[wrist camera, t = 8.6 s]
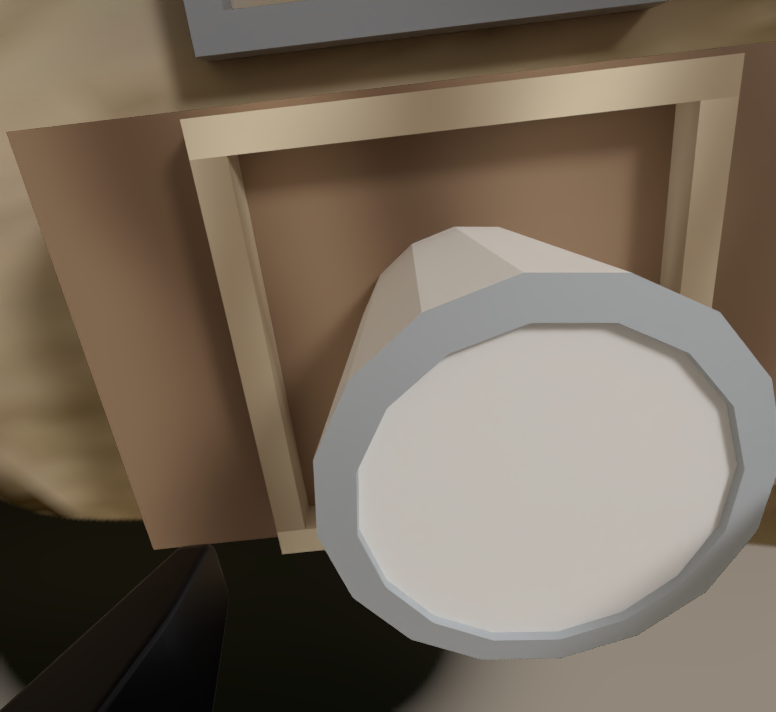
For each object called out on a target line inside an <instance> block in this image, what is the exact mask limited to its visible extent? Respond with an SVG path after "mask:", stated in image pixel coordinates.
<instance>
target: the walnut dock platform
mask: <svg viewBox="0 0 776 712" xmlns="http://www.w3.org/2000/svg"><path fill="white" fill-rule="evenodd" d="M6 133H7V136H8V139H9V141H10V144H11V147H12V150H13V153H14V156H15V158H16V161H17V164H18V167H19V170H20V173H21V176H22V178H23V181H24V184H25V187H26V190H27V193H28V195H29V198H30V201H31V204H32V207H33V210H34V212H35V215H36V218H37V221H38V224H39V227H40V229H41V232H42V235H43V238H44V241H45V244H46V246H47V249H48V252H49V255H50V258H51V261H52V263H53V266H54V269H55V272H56V275H57V278H58V280H59V283H60V286H61V289H62V292H63V295H64V297H65V300H66V303H67V306H68V309H69V312H70V314H71V317H72V320H73V323H74V326H75V329H76V331H77V334H78V337H79V340H80V343H81V346H82V348H83V351H84V354H85V357H86V360H87V363H88V365H89V368H90V371H91V374H92V377H93V380H94V382H95V385H96V388H97V391H98V394H99V397H100V399H101V402H102V405H103V408H104V411H105V414H106V416H107V419H108V422H109V425H110V428H111V431H112V433H113V436H114V439H115V442H116V445H117V448H118V450H119V453H120V456H121V459H122V462H123V465H124V467H125V470H126V473H127V476H128V479H129V482H130V484H131V487H132V490H133V493H134V496H135V499H136V501H137V504H138V507H139V510H140V513H141V516H142V518H143V521H144V524H145V527H146V530H147V533H148V535H149V538H150V541H151V544H152V547H153V550H156V549H165V548H175V547H183V546H188V545H197V544H213V543H223V542H233V541H242V540H252V539H262V538H270V537H278V538H279V542H280V547H281V550H282V554H289V553H299V552H309V551H318V550H325V549H324V547H323V545H322V544H321V542H320V540H319V539H318V537H317V525H316V506H315V488H314V469H313V459H314V456H315V453H316V450H317V448H318V445H319V442H320V439H321V436H322V433H323V430H324V427H325V424H326V421H327V418H328V416H329V413H330V410H331V407H332V404H333V401H334V398H335V395H336V392H337V389H338V386H339V383H340V381H341V378H342V375H343V372H344V369H345V366H346V363H347V360H348V357H349V354H350V351H351V349H352V346H353V343H354V340H355V337H356V334H357V331H358V328H359V325H360V322H361V319H362V316H363V314H364V311H365V309H366V306H367V304H368V302H369V299H370V297H371V295H372V292H373V290H374V288H375V285H376V283H377V281H378V278H379V276H380V274H381V273H382V272H383V271H384V270H385V269H386V268H388V267H389V266H390V265H391V264H392V263H393V262H394V261H395V260H396V259H397V258H398V257H399V256H400V255H401V254H402V253H403V252H404V251H405V250H406V249H407V248H408V247H409V246H410V245H411V244H413V243H415V242H418V241H420V240H422V239H425V238H427V237H430V236H432V235H435V234H437V233H440V232H442V231H445V230H447V229H449V228H452V227H501V228H504V229H507V230H509V231H512V232H515V233H518V234H521V235H524V236H527V237H530V238H533V239H536V240H538V241H541V242H544V243H547V244H550V245H553V246H556V247H559V248H562V249H565V250H567V251H570V252H573V253H576V254H579V255H582V256H585V257H588V258H591V259H594V260H596V261H599V262H602V263H605V264H608V265H611V266H614V267H617V268H620V269H622V270H625V271H628V272H631V273H634V274H636V275H638V276H640V277H642V278H645V279H647V280H649V281H651V282H654V283H656V284H658V285H660V286H663V287H665V288H667V289H669V290H672V291H674V292H676V293H678V294H681V295H683V296H685V297H687V298H690V299H692V300H694V301H696V302H698V303H701V304H703V305H705V306H707V307H710V308H712V309H714V310H716V311H719V312H720V313H721V314H722V315H723V317H724V318H725V319H726V320H727V322H728V323H729V324H730V326H731V327H732V328H733V329H734V331H735V332H736V333H737V335H738V336H739V337H740V338H741V340H742V341H743V342H744V344H745V345H746V346H747V347H748V349H749V350H750V351H751V353H752V354H753V355H754V357H755V358H756V359H757V360H758V362H759V363H760V364H761V366H762V367H763V368H764V369H765V371H766V372H767V373H768V375H769V376H770V377H771V378H772V383H773V390H774V397H775V405H776V41H773V42H764V43H756V44H747V45H739V46H730V47H722V48H713V49H705V50H697V51H688V52H680V53H671V54H663V55H654V56H646V57H637V58H629V59H620V60H612V61H603V62H595V63H586V64H578V65H569V66H561V67H552V68H544V69H536V70H527V71H519V72H510V73H502V74H493V75H485V76H476V77H468V78H459V79H451V80H442V81H434V82H425V83H417V84H408V85H400V86H392V87H383V88H375V89H366V90H358V91H349V92H341V93H332V94H324V95H315V96H307V97H298V98H290V99H281V100H273V101H264V102H256V103H247V104H239V105H231V106H222V107H214V108H205V109H197V110H188V111H180V112H171V113H163V114H154V115H146V116H137V117H129V118H120V119H112V120H103V121H95V122H87V123H78V124H70V125H61V126H53V127H44V128H36V129H27V130H19V131H10V132H6ZM773 485H776V478H775V481H774V484H773Z"/></svg>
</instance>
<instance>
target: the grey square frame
mask: <svg viewBox="0 0 776 712" xmlns="http://www.w3.org/2000/svg"><path fill="white" fill-rule="evenodd" d="M666 1H669V0H306V1H298V2H290V3H282V4H273V5H265V6H257V7H249V8H240V9H232V7H231V2H230V0H183V2H184V6H185V11H186V16H187V20H188V25H189V30H190V34H191V39H192V43H193V48H194V53H195V57H197V58H199V59H202V60H204V61H207V62H210V61H218V60H226V59H235V58H243V57H251V56H260V55H268V54H277V53H285V52H293V51H302V50H310V49H318V48H327V47H335V46H343V45H352V44H360V43H369V42H377V41H385V40H394V39H402V38H410V37H419V36H427V35H435V34H444V33H452V32H461V31H469V30H477V29H486V28H494V27H502V26H511V25H519V24H528V23H536V22H544V21H553V20H561V19H569V18H578V17H586V16H594V15H603V14H611V13H620V12H628V11H636V10H645V9H650V8H652V7H655V6H657V5H659V4H662V3H664V2H666Z"/></svg>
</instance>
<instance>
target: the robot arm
mask: <svg viewBox="0 0 776 712" xmlns="http://www.w3.org/2000/svg"><path fill="white" fill-rule="evenodd" d="M227 610H228V592H227V587H226V583H225V580H224V576H223V573H222V570H221V567H220V563H219V560H218V556H217V553H216V550H215V549H214V547H213V546H212V545H210V544H197V545H188V546H183V547H180V548H179V549H178V550H176V551H175V552H174V553H173V554H172V555H170V556H169V557H168V558H167V559H166V560H165V561H164V562H163V563H162V564H161V565H159V566H158V567H157V568H156V569H155V570H154V571H153V572H152V573H151V574H150V575H148V576H147V577H146V578H145V579H144V580H143V581H142V582H141V583H140V584H139V585H137V586H136V587H135V588H134V589H133V590H132V591H131V592H130V593H129V594H128V595H126V596H125V597H124V598H123V599H122V600H121V601H120V602H119V603H118V604H117V605H115V606H114V607H113V608H112V609H111V610H110V611H109V612H108V613H107V614H106V615H104V616H103V617H102V618H101V619H100V620H99V621H98V622H97V623H96V624H95V625H93V626H92V627H91V628H90V629H89V630H88V631H87V632H86V633H85V634H83V635H82V636H81V637H80V638H79V639H78V640H77V641H76V642H75V643H74V644H72V645H71V646H70V647H69V648H68V649H67V650H66V651H65V652H64V653H63V654H61V655H60V656H59V657H58V658H57V659H56V660H55V661H54V662H53V663H52V664H50V665H49V666H48V667H47V668H46V669H45V670H44V671H43V672H42V673H41V674H40V675H38V676H37V677H36V678H35V679H34V680H33V681H32V682H31V683H30V684H28V685H27V686H26V687H25V688H24V689H23V690H22V691H21V692H20V693H19V694H17V695H16V696H15V697H14V698H13V699H12V700H11V701H10V702H9V703H8V704H7V705H5V706H4V707H3V708H2V709H1V710H0V712H212V711H213V705H214V698H215V691H216V684H217V678H218V671H219V664H220V657H221V650H222V643H223V637H224V630H225V623H226V616H227Z"/></svg>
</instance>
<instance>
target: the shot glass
mask: <svg viewBox="0 0 776 712" xmlns="http://www.w3.org/2000/svg"><path fill="white" fill-rule="evenodd" d="M313 469H314V488H315V506H316V525H317V537H318V539H319V540H320V542H321V544H322V545H323V547H324V549H325V551H326V552H327V554H328V556H329V557H330V559H331V561H332V562H333V564H334V566H335V568H336V569H337V571H338V573H339V575H340V576H341V578H342V580H343V581H344V583H345V585H346V587H347V588H348V590H349V592H350V593H351V595H352V597H353V598H354V599H356V600H357V601H358V602H360V603H361V604H363V605H364V606H365V607H367V608H368V609H370V610H371V611H372V612H374V613H375V614H376V615H378V616H379V617H381V618H382V619H384V620H385V621H386V622H388V623H389V624H390V625H392V626H393V627H395V628H396V629H397V630H399V631H400V632H401V633H403V634H404V635H406V636H407V637H408V638H410V639H412V640H415V641H419V642H422V643H426V644H429V645H433V646H437V647H440V648H443V649H447V650H451V651H454V652H457V653H461V654H464V655H468V656H471V657H475V658H479V659H482V660H487V659H543V658H563V657H566V656H569V655H572V654H576V653H579V652H583V651H586V650H589V649H593V648H596V647H600V646H603V645H606V644H610V643H613V642H616V641H619V640H623V639H626V638H629V637H633V636H637V635H638V634H640V633H641V632H643V631H645V630H646V629H648V628H649V627H651V626H653V625H654V624H656V623H657V622H659V621H661V620H662V619H664V618H665V617H667V616H669V615H670V614H672V613H673V612H674V611H676V610H678V609H679V608H681V607H683V606H684V605H686V604H687V603H689V602H691V601H692V600H694V599H696V598H697V597H698V596H700V595H702V594H703V593H705V592H706V591H707V590H708V589H709V588H710V586H711V585H712V584H713V583H714V582H715V581H716V579H717V578H718V577H719V576H720V575H721V573H722V572H723V571H724V570H725V569H726V567H727V566H728V565H729V564H730V563H731V562H732V560H733V559H734V558H735V557H736V556H737V554H738V553H739V552H740V551H741V550H742V549H743V547H744V546H745V545H746V544H747V543H748V541H749V540H750V539H751V538H752V537H753V536H754V534H755V533H756V532H757V531H758V528H759V525H760V522H761V519H762V516H763V513H764V510H765V507H766V504H767V501H768V498H769V495H770V493H771V490H772V487H773V484H774V481H775V478H776V405H775V397H774V390H773V383H772V378H771V377H770V376H769V375H768V373H767V372H766V371H765V369H764V368H763V367H762V366H761V364H760V363H759V362H758V360H757V359H756V358H755V357H754V355H753V354H752V353H751V351H750V350H749V349H748V347H747V346H746V345H745V344H744V342H743V341H742V340H741V338H740V337H739V336H738V335H737V333H736V332H735V331H734V329H733V328H732V327H731V326H730V324H729V323H728V322H727V320H726V319H725V318H724V317H723V315H722V314H721V313H720V312H719V311H716V310H714V309H712V308H710V307H707V306H705V305H703V304H701V303H698V302H696V301H694V300H692V299H690V298H687V297H685V296H683V295H681V294H678V293H676V292H674V291H672V290H669V289H667V288H665V287H663V286H660V285H658V284H656V283H654V282H651V281H649V280H647V279H645V278H642V277H640V276H638V275H636V274H634V273H631V272H628V271H625V270H622V269H620V268H617V267H614V266H611V265H608V264H605V263H602V262H599V261H596V260H594V259H591V258H588V257H585V256H582V255H579V254H576V253H573V252H570V251H567V250H565V249H562V248H559V247H556V246H553V245H550V244H547V243H544V242H541V241H538V240H536V239H533V238H530V237H527V236H524V235H521V234H518V233H515V232H512V231H509V230H507V229H504V228H501V227H452V228H449V229H447V230H445V231H442V232H440V233H437V234H435V235H432V236H430V237H427V238H425V239H422V240H420V241H418V242H415V243H413V244H411V245H410V246H409V247H408V248H407V249H406V250H405V251H404V252H403V253H402V254H401V255H400V256H399V257H398V258H397V259H396V260H395V261H394V262H393V263H392V264H391V265H390V266H389V267H388V268H386V269H385V270H384V271H383V272H382V273H381V274H380V276H379V278H378V281H377V283H376V285H375V288H374V290H373V292H372V295H371V297H370V299H369V302H368V304H367V306H366V309H365V311H364V314H363V316H362V319H361V322H360V325H359V328H358V331H357V334H356V337H355V340H354V343H353V346H352V349H351V351H350V354H349V357H348V360H347V363H346V366H345V369H344V372H343V375H342V378H341V381H340V383H339V386H338V389H337V392H336V395H335V398H334V401H333V404H332V407H331V410H330V413H329V416H328V418H327V421H326V424H325V427H324V430H323V433H322V436H321V439H320V442H319V445H318V448H317V450H316V453H315V456H314V459H313Z"/></svg>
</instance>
